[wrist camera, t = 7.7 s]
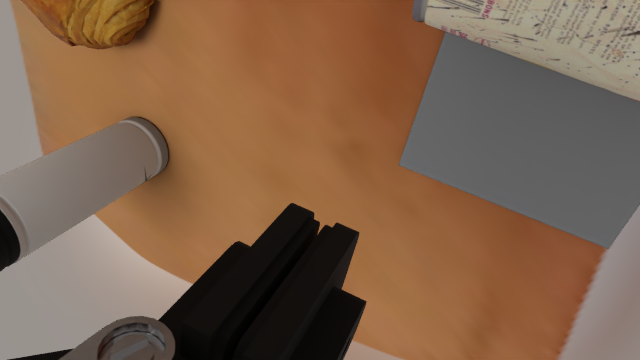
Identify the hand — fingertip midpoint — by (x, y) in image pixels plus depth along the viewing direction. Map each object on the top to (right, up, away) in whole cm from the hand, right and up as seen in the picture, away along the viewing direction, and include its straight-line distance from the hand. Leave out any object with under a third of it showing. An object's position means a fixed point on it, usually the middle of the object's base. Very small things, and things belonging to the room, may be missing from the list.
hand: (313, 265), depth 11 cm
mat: (+16, +9, +20) cm, 27 cm away
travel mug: (-18, +6, +38) cm, 42 cm away
